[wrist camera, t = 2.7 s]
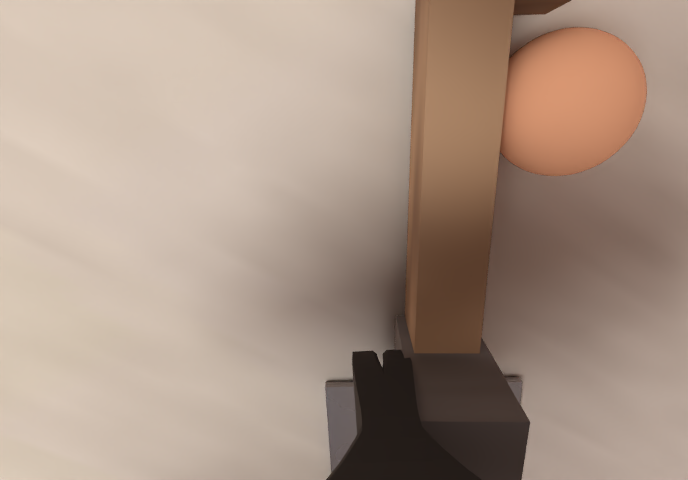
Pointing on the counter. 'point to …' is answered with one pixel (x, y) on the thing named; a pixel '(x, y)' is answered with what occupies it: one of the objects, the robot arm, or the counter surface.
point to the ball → (570, 101)
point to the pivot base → (345, 415)
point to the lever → (459, 230)
